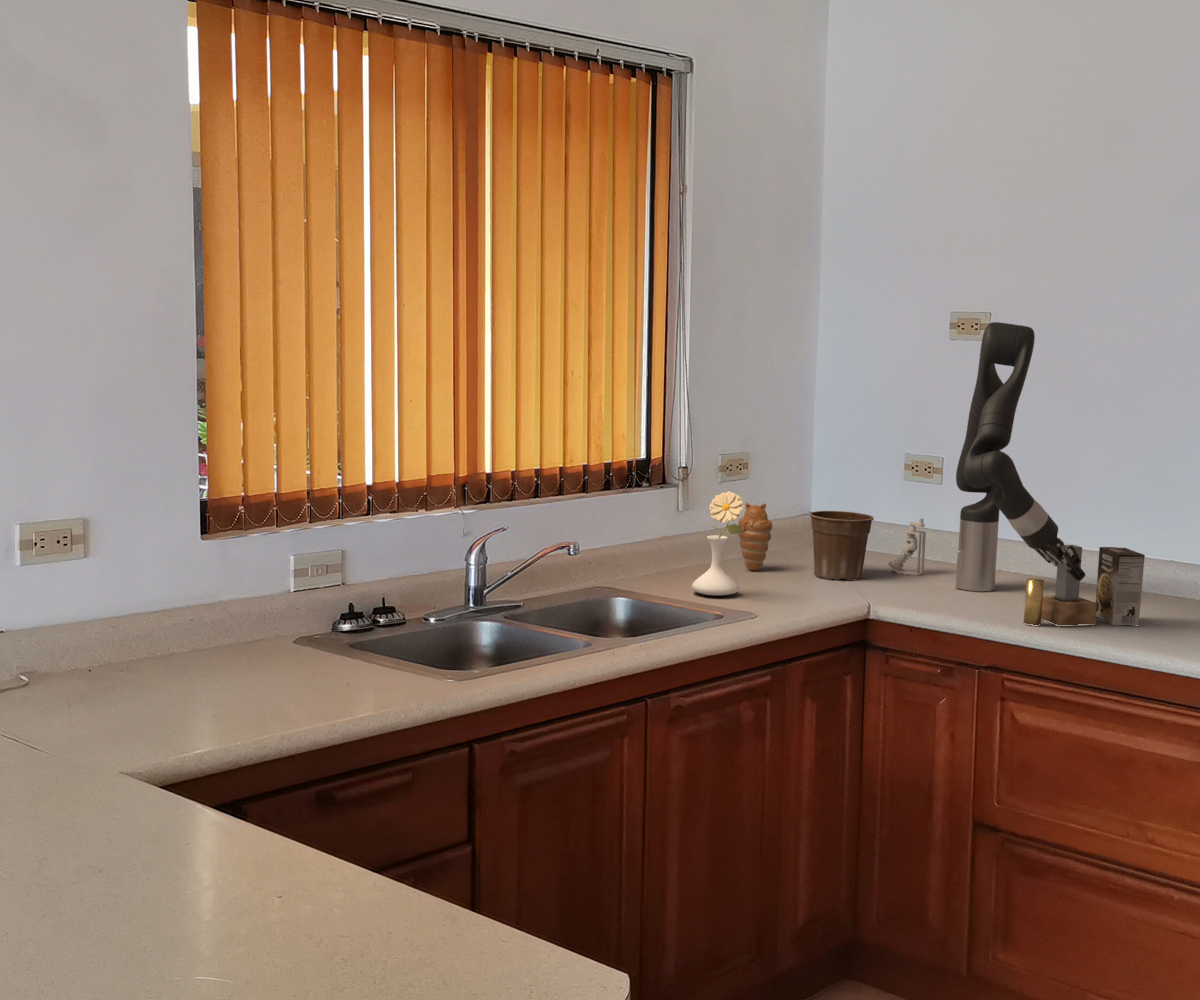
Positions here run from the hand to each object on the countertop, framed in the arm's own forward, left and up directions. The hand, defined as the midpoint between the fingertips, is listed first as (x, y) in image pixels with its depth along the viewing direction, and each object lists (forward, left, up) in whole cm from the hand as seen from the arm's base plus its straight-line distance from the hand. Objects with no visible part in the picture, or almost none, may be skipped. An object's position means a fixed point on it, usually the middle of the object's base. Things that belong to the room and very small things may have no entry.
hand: (1076, 576), depth 291 cm
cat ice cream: (-78, +32, -10) cm, 85 cm away
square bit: (-2, -1, -5) cm, 6 cm away
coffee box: (+9, +4, -10) cm, 15 cm away
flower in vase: (-80, -3, -10) cm, 80 cm away
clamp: (-40, +46, -10) cm, 62 cm away
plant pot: (-56, +33, -10) cm, 66 cm away
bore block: (-2, -1, -10) cm, 10 cm away
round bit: (-9, -7, -10) cm, 15 cm away
